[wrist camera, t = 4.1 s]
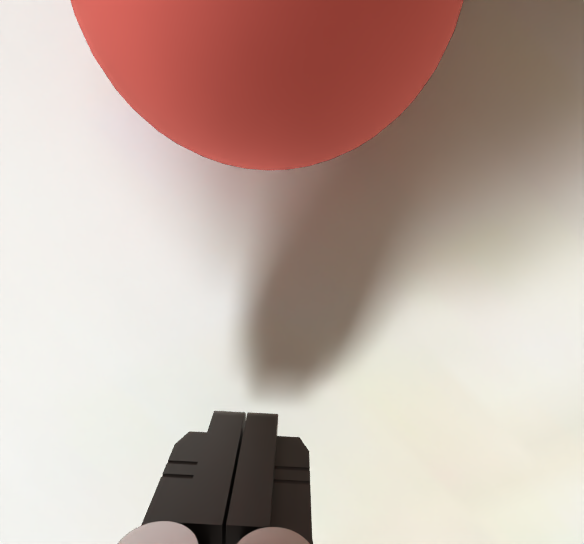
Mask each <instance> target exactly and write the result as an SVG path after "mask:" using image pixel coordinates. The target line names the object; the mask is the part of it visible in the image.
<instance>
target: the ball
mask: <svg viewBox="0 0 584 544" xmlns="http://www.w3.org/2000/svg"><path fill="white" fill-rule="evenodd" d="M71 3H72V7H73V10H74V13H75V16H76V19H77V21H78V23H79V25H80V28H81V30H82V32H83V35H84V37H85V39H86V41H87V43H88V45H89V47H90V50H91V52H92V54H93V56H94V57H95V59H96V60H97V62H98V63H99V65H100V66H101V68H102V69H103V71H104V72H105V74H106V76H107V77H108V78H109V80H110V81H111V83H112V84H113V86H114V87H115V89H116V90H117V91H118V92H119V94H120V95H121V96H122V97H123V98H124V99H125V100H126V101H127V103H128V104H129V105H130V106H131V107H132V108H133V109H134V110H135V111H136V112H137V113H138V114H139V115H140V116H141V117H143V118H144V119H145V120H146V121H147V122H148V123H149V124H151V125H152V126H153V127H154V128H155V129H156V130H158V131H159V132H160V133H162V134H163V135H165V136H166V137H168V138H169V139H171V140H172V141H174V142H175V143H177V144H179V145H181V146H183V147H185V148H187V149H189V150H191V151H193V152H195V153H197V154H199V155H201V156H203V157H206V158H209V159H211V160H214V161H217V162H220V163H223V164H227V165H232V166H236V167H241V168H246V169H258V170H287V169H294V168H300V167H306V166H311V165H314V164H318V163H321V162H324V161H328V160H330V159H333V158H335V157H338V156H340V155H342V154H344V153H347V152H349V151H351V150H353V149H355V148H357V147H359V146H360V145H362V144H364V143H365V142H367V141H368V140H370V139H372V138H373V137H375V136H376V135H377V134H378V133H379V132H381V131H382V130H383V129H384V128H386V127H387V126H388V125H389V124H390V123H392V122H393V121H394V120H395V119H396V118H397V117H399V116H400V115H401V114H402V112H403V111H404V110H405V109H406V108H407V107H408V106H409V105H410V104H411V103H412V102H413V100H414V99H415V98H416V97H417V95H418V94H419V93H420V91H421V90H422V89H423V87H424V86H425V84H426V83H427V81H428V80H429V78H430V77H431V75H432V74H433V72H434V71H435V70H436V68H437V66H438V64H439V62H440V60H441V58H442V56H443V54H444V52H445V49H446V47H447V45H448V43H449V41H450V39H451V37H452V35H453V33H454V30H455V27H456V24H457V21H458V17H459V14H460V11H461V8H462V4H463V0H71Z"/></svg>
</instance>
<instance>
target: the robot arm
mask: <svg viewBox="0 0 584 544" xmlns="http://www.w3.org/2000/svg"><path fill="white" fill-rule="evenodd" d="M277 428H278V414H266V413H247V418H246V413H245V412H226V411H214V413H213V416H212V419H211V422H210V426H209V429H208V432H188V433H187V434H186V435H185V436H184V437H183V438H182V439H180V440H179V441H178V442H177V443H176V444H175V445H174V448H173V450H172V453H171V455H170V457H169V460H168V463H167V465H166V467H165V469H164V472H163V476H162V477H161V479H160V481H159V484H158V486H157V489H156V491H155V494H154V496H153V498H152V501H151V503H150V506H149V508H148V510H147V513H146V515H145V518H144V520H143V522H142V525H141V526H140V527H138V528H135V529H134V530H132V531H131V532H129V533H128V534H126V535H125V536H124V537H123V538H122V539H121V540H120V541H119V542H118V544H313V541H312V523H311V495H310V471H309V469H310V466H309V451H308V449H307V448H306V446H305V445H304V443H303V442H302V440H301V439H300V437H284V436H277Z"/></svg>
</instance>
